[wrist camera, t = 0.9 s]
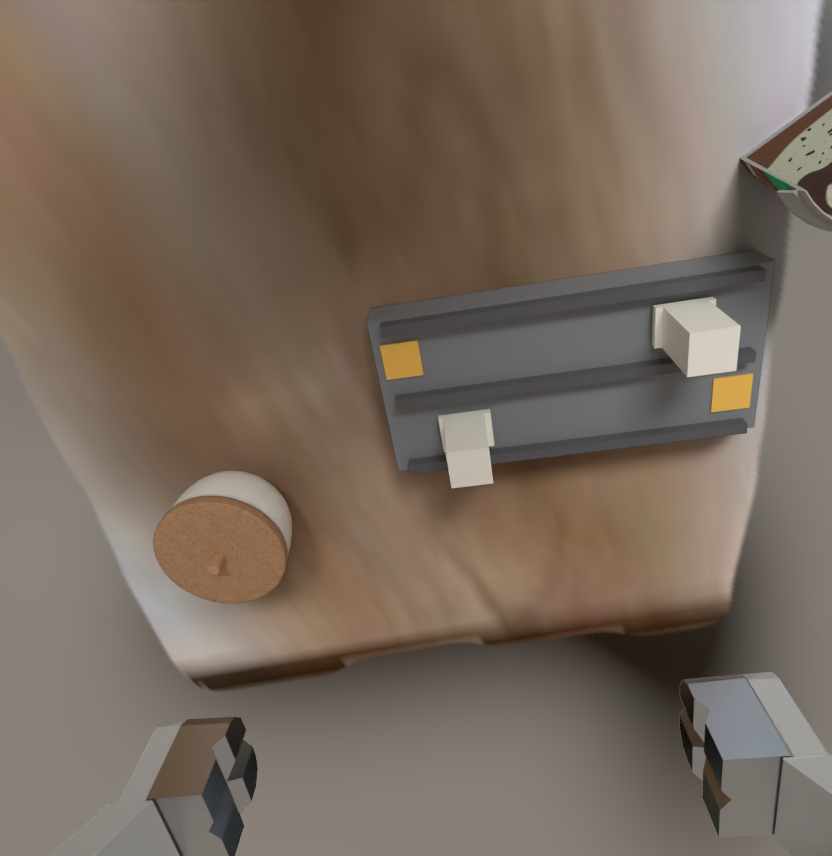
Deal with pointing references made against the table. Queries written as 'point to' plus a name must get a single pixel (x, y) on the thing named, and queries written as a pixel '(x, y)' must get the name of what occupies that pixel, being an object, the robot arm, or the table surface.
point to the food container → (800, 164)
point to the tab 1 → (468, 447)
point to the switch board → (568, 362)
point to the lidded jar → (226, 538)
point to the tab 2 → (696, 336)
